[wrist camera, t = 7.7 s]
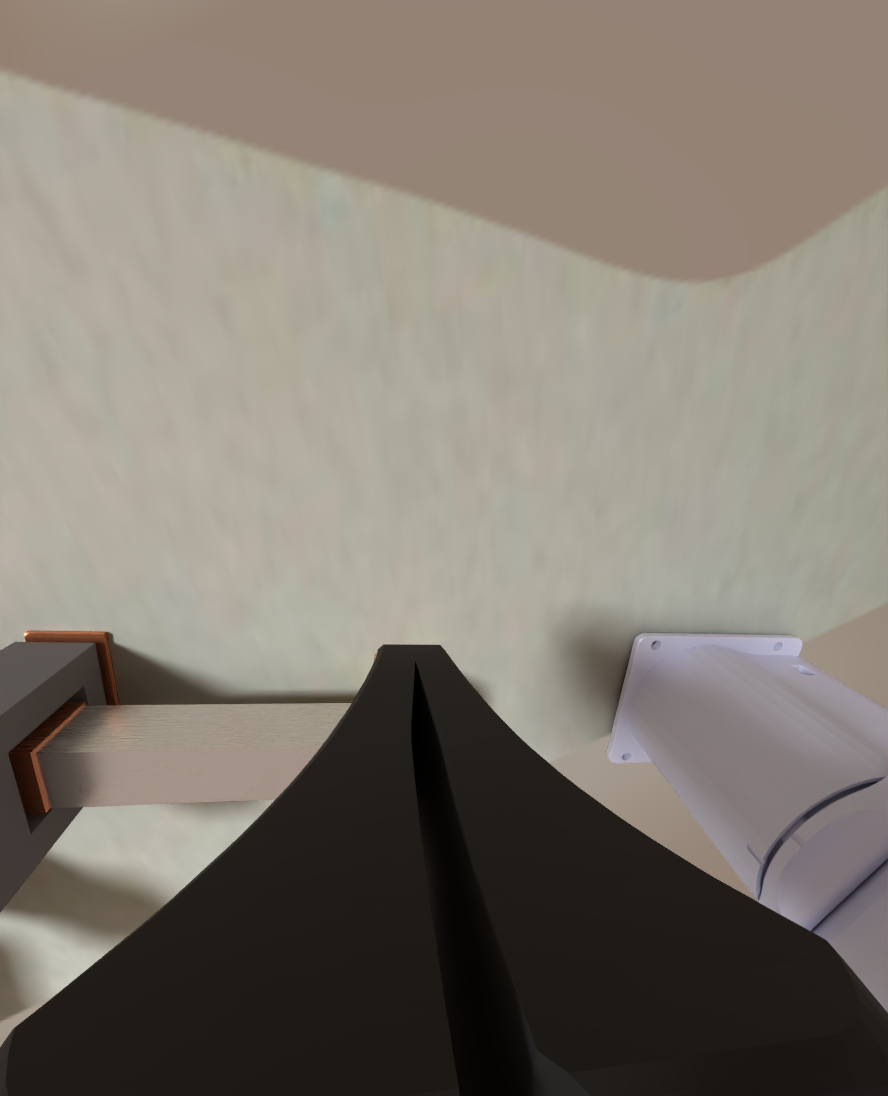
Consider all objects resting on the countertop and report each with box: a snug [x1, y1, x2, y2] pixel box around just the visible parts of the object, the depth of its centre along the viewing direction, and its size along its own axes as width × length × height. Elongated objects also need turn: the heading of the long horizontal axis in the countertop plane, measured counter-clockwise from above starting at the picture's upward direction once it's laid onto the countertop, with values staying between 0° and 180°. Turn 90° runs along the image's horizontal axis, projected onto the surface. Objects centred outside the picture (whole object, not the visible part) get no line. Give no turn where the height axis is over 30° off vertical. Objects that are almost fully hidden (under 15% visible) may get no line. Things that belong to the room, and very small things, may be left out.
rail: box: [8, 631, 377, 814], centre depth 17 cm, size 22×7×4 cm, turn 85°
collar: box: [0, 642, 107, 912], centre depth 15 cm, size 3×6×7 cm, turn 175°
